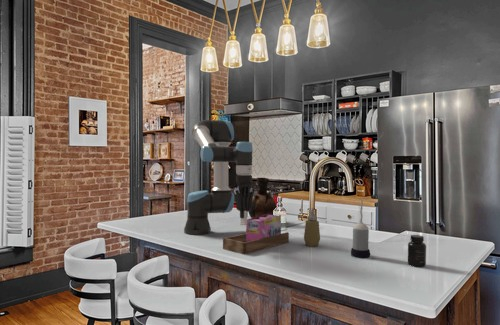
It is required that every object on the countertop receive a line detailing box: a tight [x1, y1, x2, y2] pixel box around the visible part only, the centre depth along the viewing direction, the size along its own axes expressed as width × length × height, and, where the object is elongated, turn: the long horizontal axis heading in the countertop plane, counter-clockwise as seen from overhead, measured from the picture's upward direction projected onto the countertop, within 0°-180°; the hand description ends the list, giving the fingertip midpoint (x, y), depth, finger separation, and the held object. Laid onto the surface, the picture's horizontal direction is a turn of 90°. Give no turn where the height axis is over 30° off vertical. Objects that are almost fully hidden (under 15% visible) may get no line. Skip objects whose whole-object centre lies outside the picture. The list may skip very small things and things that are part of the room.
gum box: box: [245, 214, 282, 242], centre depth 183 cm, size 24×8×14 cm, turn 148°
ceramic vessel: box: [248, 176, 277, 219], centre depth 241 cm, size 21×18×30 cm
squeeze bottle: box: [303, 208, 321, 247], centre depth 181 cm, size 8×8×18 cm
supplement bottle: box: [407, 234, 427, 268], centre depth 150 cm, size 7×7×12 cm
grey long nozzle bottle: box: [350, 199, 371, 259], centre depth 163 cm, size 8×8×25 cm
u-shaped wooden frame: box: [222, 232, 290, 255], centre depth 179 cm, size 14×33×5 cm, turn 138°
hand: (243, 224), depth 172 cm, fingers closed
